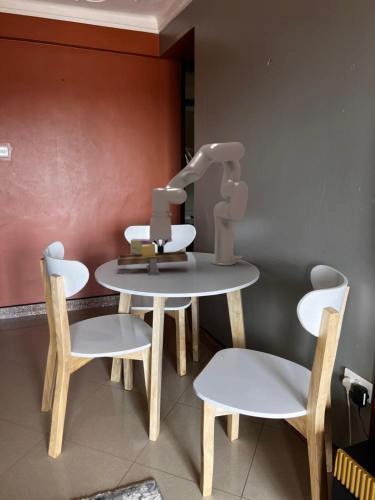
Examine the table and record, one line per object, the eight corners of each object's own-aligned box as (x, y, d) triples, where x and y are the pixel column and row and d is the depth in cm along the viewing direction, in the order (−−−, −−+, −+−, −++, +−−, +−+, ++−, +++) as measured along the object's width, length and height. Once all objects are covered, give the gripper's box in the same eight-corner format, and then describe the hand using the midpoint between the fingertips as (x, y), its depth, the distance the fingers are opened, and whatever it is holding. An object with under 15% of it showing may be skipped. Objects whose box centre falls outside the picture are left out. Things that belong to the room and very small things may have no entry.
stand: (157, 266, 187) (157, 252, 186) (158, 274, 171) (158, 259, 169) (147, 266, 187) (146, 252, 185) (147, 275, 170) (147, 259, 169)
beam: (185, 256, 185) (185, 250, 184) (187, 261, 175) (187, 254, 174) (118, 260, 181) (118, 254, 180) (117, 265, 171) (117, 259, 171)
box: (152, 261, 199) (152, 238, 197) (150, 263, 193) (150, 240, 191) (133, 260, 200) (132, 238, 198) (130, 262, 194) (130, 240, 192)
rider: (155, 256, 180) (154, 244, 179) (155, 258, 175) (155, 245, 174) (142, 257, 179) (141, 244, 178) (142, 259, 175) (141, 246, 173)
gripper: (176, 214, 179) (175, 252, 182) (144, 214, 177) (144, 252, 180) (177, 215, 172) (177, 255, 175) (144, 215, 170) (144, 255, 173)
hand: (160, 254), depth 178 cm, fingers closed
